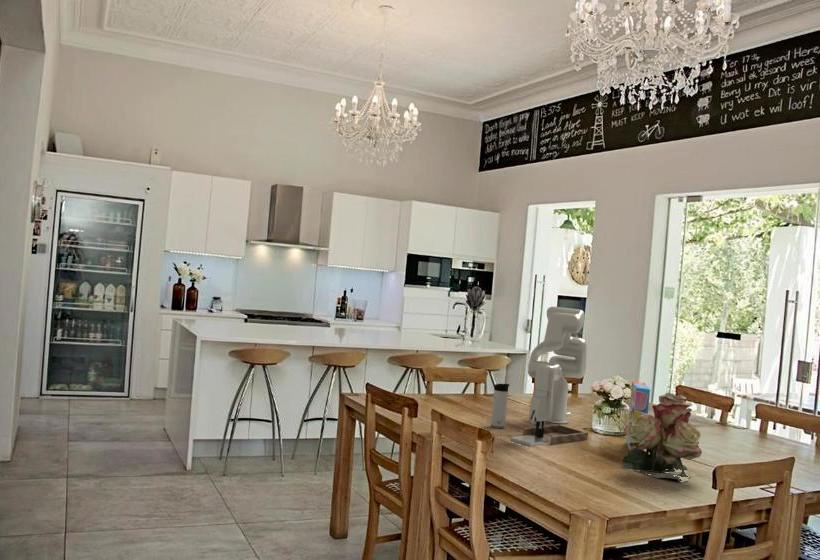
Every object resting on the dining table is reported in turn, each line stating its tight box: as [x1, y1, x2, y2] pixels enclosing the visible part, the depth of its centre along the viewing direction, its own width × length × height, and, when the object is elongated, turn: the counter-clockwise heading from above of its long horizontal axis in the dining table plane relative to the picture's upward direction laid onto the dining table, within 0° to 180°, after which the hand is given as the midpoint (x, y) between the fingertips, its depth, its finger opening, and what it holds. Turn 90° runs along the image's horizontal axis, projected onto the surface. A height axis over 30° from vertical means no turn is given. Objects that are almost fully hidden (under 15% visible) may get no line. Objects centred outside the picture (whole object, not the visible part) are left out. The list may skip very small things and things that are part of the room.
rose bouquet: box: [621, 392, 703, 483], centre depth 280 cm, size 26×29×30 cm
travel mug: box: [490, 383, 510, 429], centre depth 333 cm, size 6×7×20 cm
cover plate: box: [510, 434, 548, 448], centre depth 308 cm, size 12×10×2 cm
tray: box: [522, 424, 589, 445], centre depth 321 cm, size 24×16×4 cm, turn 131°
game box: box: [625, 381, 651, 453], centre depth 316 cm, size 21×6×27 cm, turn 168°
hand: (539, 437), depth 313 cm, fingers closed
